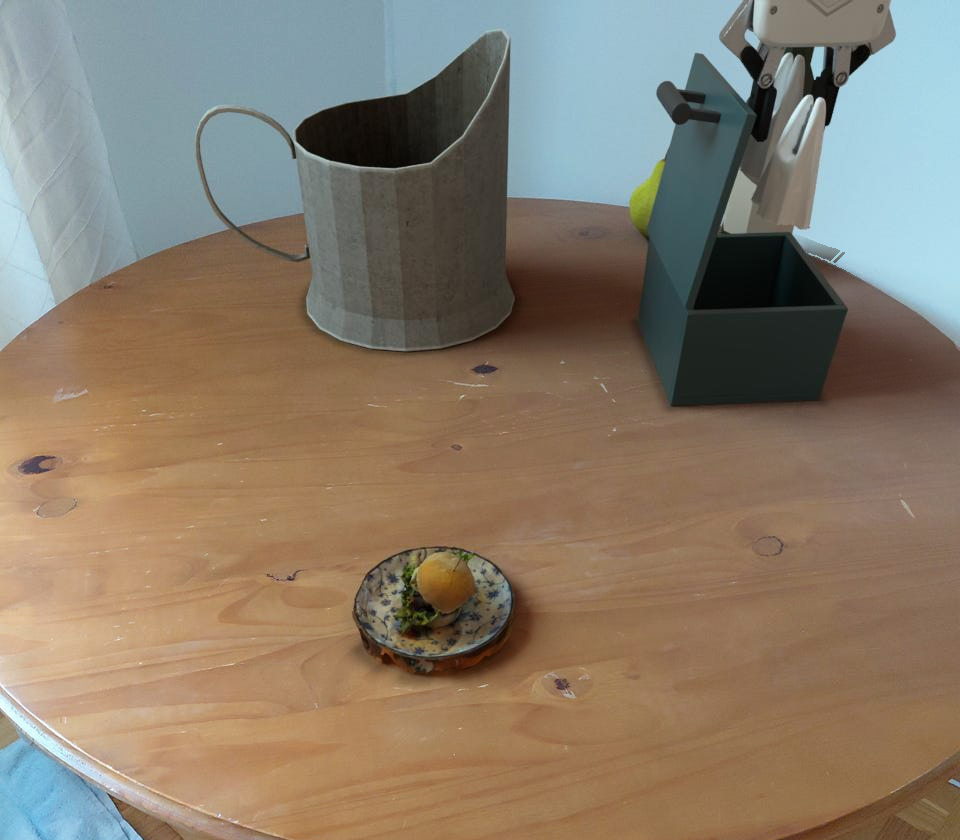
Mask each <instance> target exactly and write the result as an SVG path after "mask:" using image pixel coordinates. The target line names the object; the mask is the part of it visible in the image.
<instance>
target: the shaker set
mask: <svg viewBox="0 0 960 840" xmlns="http://www.w3.org/2000/svg"><path fill="white" fill-rule="evenodd" d="M804 77H805V60H804V57H803V56H802V55H797V56H796V57H795V60H794V63H793V54H792V53H787V54H785V55H784V56H783V58H782V60H781V62H780V65H779V67H778V70H777V73H776V75H775V80H774V85H773V86H774V87H775V88H776V89H777V96H776V101H775V105H774V110H773V114H772V119H771V123H770V128H769V133H768V137H767V140H765V141H764V142H757V141H756V140H755V139H754V137H753V136H752V135H751V134H750V137H749V140H748V143H747V146H746V149H745V152H744V155H743V158H742V162H741V165H740V168H741V169H740V171H741V172H743V174H744V175H745V176H746V177H747V178H748V179H749V180H750V181H752V182H753V183H754V184H756V185H757V188H756V190H755V192H754V194H753V197H752V198H751V201H752V202H754V203H757V205H759V207H758V211H757V213H756V214H757V215H759V216H760V217H761V218H763V219H764V221H767V222H769V223H772V224H773V223H774V224H776V225H778V226H779V225H780V224H782V225H790V224H792V225H794V227H795V228H796V229H798V230H800V231H803V230H805V231H807V230H809V229H811V226H810V225H811V220H812V214H813V207H814V202H815V195H816V189H817V183H818V182H817V181H818V176H819V167H820V161H821V155H822V148H823V141H824V133H825V130H824V126H825V117H826V103H825V100H824V99H823V98H821V97H819V98H817V99H816V101H815V104H814V107H813V96H812V95H807V96H805V97H804V98H803V88H804ZM825 127H826V126H825Z"/></svg>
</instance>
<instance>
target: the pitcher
mask: <svg viewBox="0 0 960 840" xmlns="http://www.w3.org/2000/svg"><path fill="white" fill-rule="evenodd" d="M511 42H512V41H511V37H510V35H509V34H508V33H507V31H506V30H505V28H499V29H492V30H491V29H490V30H487V31H485V32H483V34H482V35H480V36H479V37H478V38H476V39H475V40H474V41H473V42H472V43H471V44H469V45H468V46H467V47H466V48H464V50H462V51H461V52H460V53H459V54H458V55H457V56H455V58H454V59H452V60H451V61H450V62H449V63H448V64H447V65H446V66H444V67H443V68H442V69H441V70H440V71H439V72H438V73H436V75H434V76H432V77H430V78H428V79H426V81H424V82H422V83H420V84H419V85H417V86H415V87H413V88H412V89H410V90H409V91H407V92H402V93H397V94H390V95H384V96H377V97H370V98H365V99H357V100H351V101H346V102H342V103H339V104H335V105H332V106H328V107H325V108H321V109H319V110H318V111H316V112H314V113H312V114H310V115H308V116H305V117H304V118H302V119H301V121H300V122H299V123H298V124H297V126H296V127H295V128H293V130H292V133H293V139H292V137H291V134H290V133H289V132H288V131H287V130H286V129H285V128H284V127H283V126H282V125H281V124H280V123H279V122H278V121H276V120H275V119H274V118H272V117H271V116H270V115H268V114H266V113H264V112H262V111H260V110H257V109H255V108H252V107H249V106H245V105H240V104H221V105H216V106H214V107H212V108H210V109H208V110H207V111H206V112H205V113H204V114H203V116H202V117H201V118H200V119H199V123H198V125H197V128H196V132H195V139H194V151H195V153H194V154H195V161H196V165H197V171H198V174H199V178H200V181H201V185H202V188H203V191H204V195H205V197H206V199H207V201H208V203H209V206H210V208H211V209H212V211H213V213H215V215H216V216H217V218H218V219H219V220H220V222H222V224H224V225H225V226H226V227H227V228H228V229H229V230H230V231H231V232H232V233H234V234H235V235H236V236H237V237H238V238H239V239H241V240H243V241H244V242H245V243H246V244H248V245H250V246H251V247H254V248H255V249H257V250H258V251H261V252H263V253H265V254H267V255H270V256H272V257H276V258H278V259H281V260H284V261H288V262H293V263H300V262H303V261H306V260H309V261H310V267H311V275H312V277H311V280H310V284H309V287H308V291H307V295H306V311H307V315H308V316H309V318H310V319H311V320H312V321H313V323H314V324H315V325H316V327H317V328H318V329H319V330H321V331H323V332H325V333H326V334H328V335H330V336H331V337H333V338H335V339H337V340H339V341H341V342H343V343H348V344H350V345H355V346H359V347H362V348H367V349H370V350H381V351H395V352H415V351H416V352H417V351H418V352H419V351H428V350H440V349H444V348H449V347H453V346H456V345H460V344H464V343H468V342H471V341H474V340H476V339H478V338H480V337H482V336H484V335H486V334H488V333H490V332H492V331H495V329H497V328H498V327H499V326H500V325H501V324H502V323H503V322H504V321H505V320H506V319H507V318H508V317H509V316H511V314H512V310H513V306H514V303H515V294H514V291H513V289H512V287H511V284H510V281H509V279H508V277H507V274H506V264H507V263H506V261H507V222H508V221H507V215H508V178H509V177H508V175H509V173H508V172H509V132H510V131H509V129H510V128H509V127H510V126H509V125H510V90H511V89H510V81H511ZM223 113H235V114H242V115H247V116H251V117H253V118H256V119H259V120H261V121H262V122H264V123H266V124H268V125H269V126H271V127H272V128H274V129H275V130H276V131H277V132H279V134H280V135H281V136H282V137H283V138H284V139H285V141H286V143H287V145H288V147H289V148H290V155H291V159H292V160H296V167H297V174H298V182H299V187H300V188H299V189H300V195H301V203H302V209H303V217H304V224H305V230H306V238H307V243H305V244H304V250H305V252H303V253H301V254H294V253H287V252H285V251H281V250H278V249H275V248H272V247H271V246H268V245H266V244H263V243H261V242H259V240H257V239H254V238H253V237H251V236H250V235H248V234H247V233H245V232H244V231H243V230H241V228H240V227H238V226H237V225H236V224H235V223H233V222H232V221H231V220H230V219H229V218H228V217H227V216H226V215H225V214H224V213H223V212H222V209H220V207H219V206H218V204H217V203H216V201H215V199H214V197H213V195H212V193H211V189H210V187H209V184H208V180H207V177H206V173H205V169H204V164H203V160H202V153H201V137H202V136H201V135H202V133H203V130H204V127H205V125H206V124H207V123H208V121H209V120H210V119H211V118H212V117H214V116H216V115H218V114H223Z"/></svg>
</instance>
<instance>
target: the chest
mask: <svg viewBox="0 0 960 840" xmlns="http://www.w3.org/2000/svg"><path fill="white" fill-rule="evenodd" d="M645 259H646V260H645V266H644V272H643V280H642V288H641V295H640V301H639V302H640V303H639V309H638V315H637V325H638V328H639V330H640V332H641V334H642V337H643V339H644V342H645V345H646V347H647V350H648V352H649V354H650V358H651V359H652V362H653V365H654V367H655V370H656V372H657V375H658V377H659V380H660V382H661V385H662V386H663V389H664V392H665V395H666V397H667V399H668V402H669V404H670V406H671V407H677V406H703V405H705V406H706V405H724V404H725V405H727V404H728V405H730V404H731V405H732V404H733V405H734V404H757V403H759V404H760V403H780V402H781V403H782V402H808V401H820V399H821V396H822V392H823V389H824V386H825V383H826V380H827V376H828V373H829V371H830V368H831V365H832V361H833V359H834V355H835V353H836V352H835V351H836V348H837V345H838V342H839V340H840V336H841V333H842V330H843V327H844V324H845V320H846V318H847V314H848V311H849V308H848V306H847V305H846V304H845V302H844V301H843V300H842V298H841V297H840V295H839V294H838V293H837V291H835V288H833V286H832V285H831V284H830V282H829V281H828V280H827V278H826V276H824V275H823V273H822V272H821V270H820V269H819V268H818V267H817V265H816V264H815V262H814V261H813V260H812V259H811V257H810V256H809V255H808V253H807V252H806V251H805V249H804V248H803V246H802V245H801V244H800V243H799V241H798V240H797V239H796V237H795V236H794V235H793V233H791V232H772V233H738V234H720V233H718V234H717V237H716V240H715V243H714V246H713V249H712V252H711V255H710V258H709V261H708V264H707V267H706V270H705V273H704V276H703V279H702V283H701V286H700V289H699V292H698V295H697V298H696V301H695V304H694V307H693V309H685V308H684V307H683V305H682V302H681V300H680V298H679V296H678V294H677V292H676V290H675V288H674V286H673V284H672V282H671V280H670V278H669V276H668V274H667V272H666V270H665V267H664V265H663V263H662V261H661V259H660V257H659V255H658V253H657V251H656V249H655V247H654V245H653V243H652V241H651V239H650V237H649V238H648V245H647V252H646V258H645Z"/></svg>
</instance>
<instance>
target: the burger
mask: <svg viewBox="0 0 960 840" xmlns="http://www.w3.org/2000/svg"><path fill="white" fill-rule="evenodd" d="M501 569H502V568H500V567H499V566H498V565H497V564H495V563H494V562H493V561H491V560H490V559H488V558H486V557H484V556H482V555H479V554H478V553H476V552H475V551H471V550H467V549H464V548H460V547H456V546H452V547H451V546H450V547H449V546H447V545H444V546H441V545H435V546H422V547H415V548H410V549H406V550H403V551H401V552H398V553H394V554H393V555H391V556H389V557H387V558H386V559H385V558H384V559H383V560H381V561H380V562H379V563H377V564H376V565H375V566H373V567H372V568H371V569H370V570H369V571H368V572H367V573H366V574H365V575H364V578H363V579H362V581H361V584H360V586H359V588H358V590H357V592H356V594H355V596H354V598H353V600H354V601H353V609H352V610H351V614H352V619H353V622H354V623H355V625H356V627H357V629H358V631H359V635H360V639H361V643H362V646H363V649H364V650H365V652H366V653H368V654H370V656H371V657H374V659H375V660H376V661H378V662H380V663H383V661H384V658H385V654H386V655H388V656H389V657H390V658H391V660H392V661H393V662H394V663H395V664H396V665H397V666H398V667H399V668H400V669H402V670H404V671H407V672H409V673H413V674H414V673H416V672H420V673H422V674H424V675H425V674H427V673H429V672H431V671H436V670H437V671H440V672H442V671H443V670H444V669H446V668H449V669H451V668H454V667H455V668H456V669H458V670H461V671H463V670H464V669H466V668H469V667H473V666H475V665H477V664H478V663H479V662H480V661H482V659H483V658H484V657H485V656H486V657H487V656H488V658H490V657H491V656H493V655H494V654H496V652H498V651H499V650H500V649H501V648H502V646H504V644H505V643H506V642H507V640H508V639H509V637H510V635H511V633H512V631H513V629H514V624H515V621H516V608H515V594H514V593H515V592H514V588H513V586H512V583H511V581H510V579H509V578H508V576H507V575H505V573H504V572H503V570H501Z"/></svg>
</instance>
